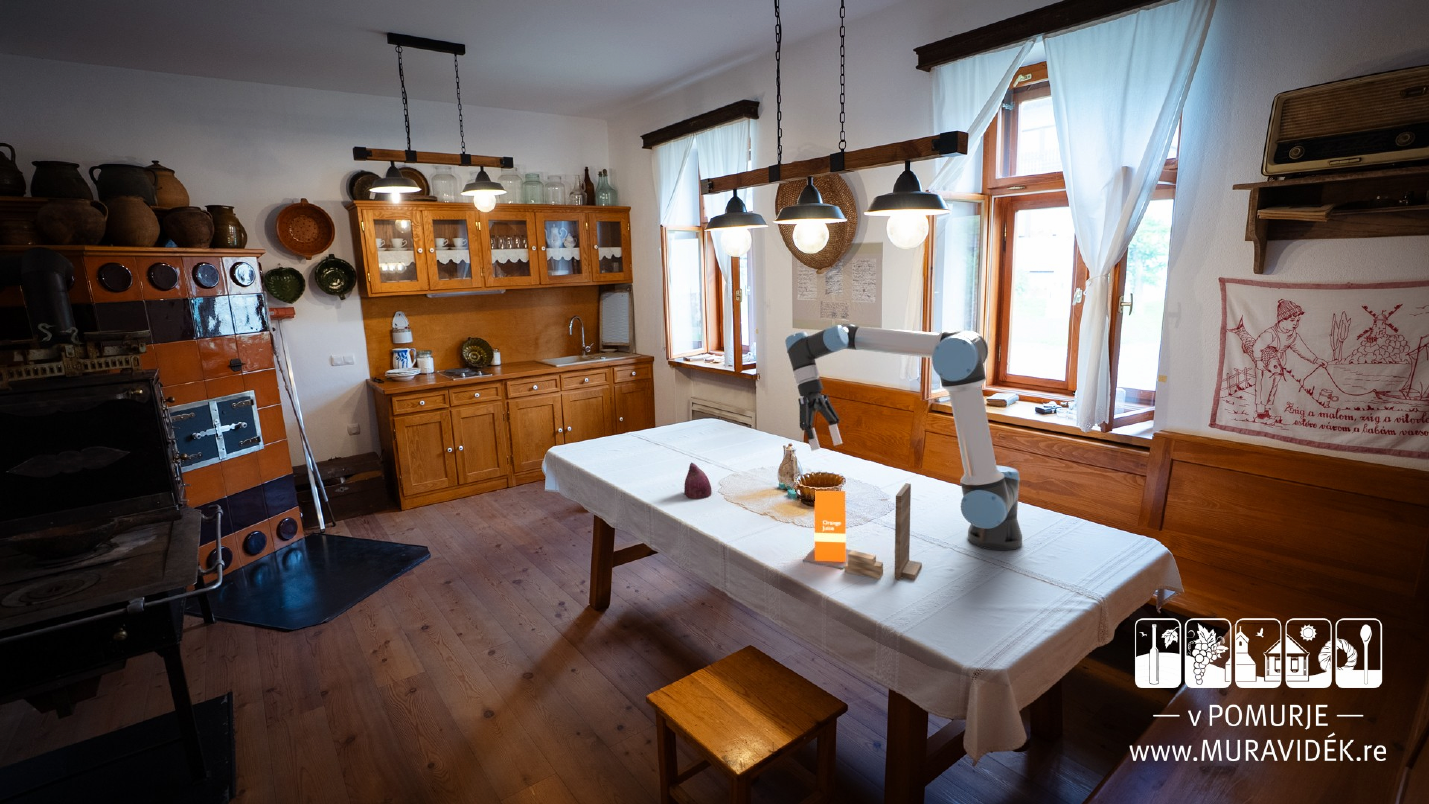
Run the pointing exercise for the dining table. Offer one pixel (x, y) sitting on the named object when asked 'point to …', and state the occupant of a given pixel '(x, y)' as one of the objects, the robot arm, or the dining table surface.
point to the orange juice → (830, 526)
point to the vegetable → (696, 483)
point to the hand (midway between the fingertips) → (827, 447)
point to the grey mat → (835, 564)
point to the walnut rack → (903, 566)
